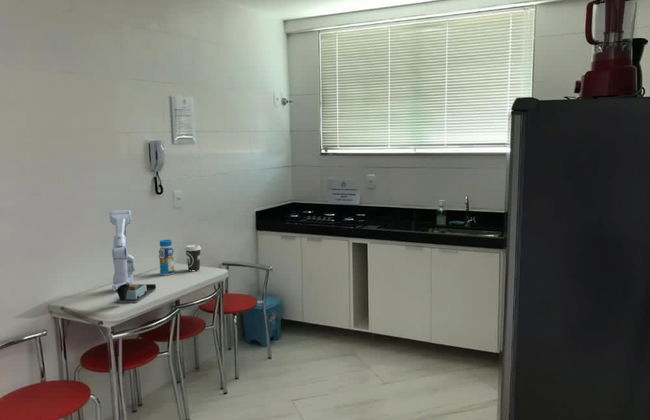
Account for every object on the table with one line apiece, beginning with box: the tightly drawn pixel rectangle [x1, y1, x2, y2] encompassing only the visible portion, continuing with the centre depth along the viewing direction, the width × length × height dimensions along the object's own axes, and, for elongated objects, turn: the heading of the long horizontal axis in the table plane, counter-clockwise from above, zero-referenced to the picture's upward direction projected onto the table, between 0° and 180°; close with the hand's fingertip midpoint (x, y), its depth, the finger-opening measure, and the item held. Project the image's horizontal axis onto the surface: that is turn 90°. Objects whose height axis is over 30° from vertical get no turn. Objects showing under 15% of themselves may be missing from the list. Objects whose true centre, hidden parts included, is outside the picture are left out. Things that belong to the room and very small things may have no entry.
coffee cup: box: [184, 244, 202, 272], centre depth 310 cm, size 10×10×15 cm
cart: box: [126, 283, 147, 299], centre depth 255 cm, size 10×12×4 cm
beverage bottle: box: [158, 239, 175, 276], centre depth 302 cm, size 8×8×20 cm
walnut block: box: [128, 285, 139, 291], centre depth 255 cm, size 4×4×4 cm
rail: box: [116, 283, 157, 304], centre depth 259 cm, size 10×22×3 cm, turn 175°
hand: (122, 300), depth 244 cm, fingers closed
